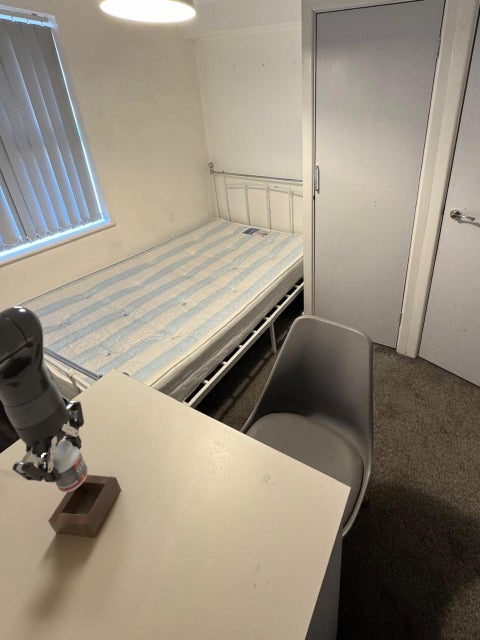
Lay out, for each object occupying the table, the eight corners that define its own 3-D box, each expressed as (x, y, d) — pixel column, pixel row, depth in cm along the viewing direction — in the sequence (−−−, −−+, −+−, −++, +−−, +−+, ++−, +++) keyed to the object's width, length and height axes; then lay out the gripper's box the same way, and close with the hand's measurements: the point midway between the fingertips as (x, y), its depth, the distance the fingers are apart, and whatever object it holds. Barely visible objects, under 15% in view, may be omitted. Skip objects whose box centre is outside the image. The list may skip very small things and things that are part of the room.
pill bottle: (89, 482, 67) (76, 452, 63) (59, 499, 65) (42, 470, 61) (87, 460, 71) (74, 431, 67) (58, 476, 69) (42, 447, 65)
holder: (55, 533, 69) (47, 521, 67) (85, 486, 78) (79, 473, 75) (95, 537, 68) (89, 525, 66) (121, 489, 77) (116, 477, 75)
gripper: (48, 374, 65) (74, 428, 73) (-21, 444, 52) (18, 502, 60) (83, 376, 65) (105, 431, 72) (21, 448, 52) (55, 506, 59)
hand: (65, 463), depth 66 cm, fingers closed on pill bottle, 5 cm apart
